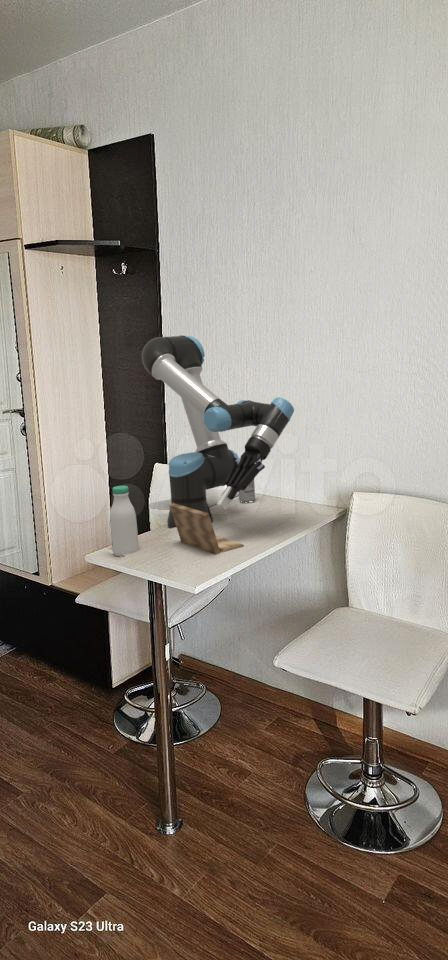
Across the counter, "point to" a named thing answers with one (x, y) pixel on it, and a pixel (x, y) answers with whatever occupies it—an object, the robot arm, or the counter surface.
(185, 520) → the board
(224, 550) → the laid floorboards
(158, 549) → the counter surface
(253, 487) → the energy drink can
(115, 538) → the milk bottle
